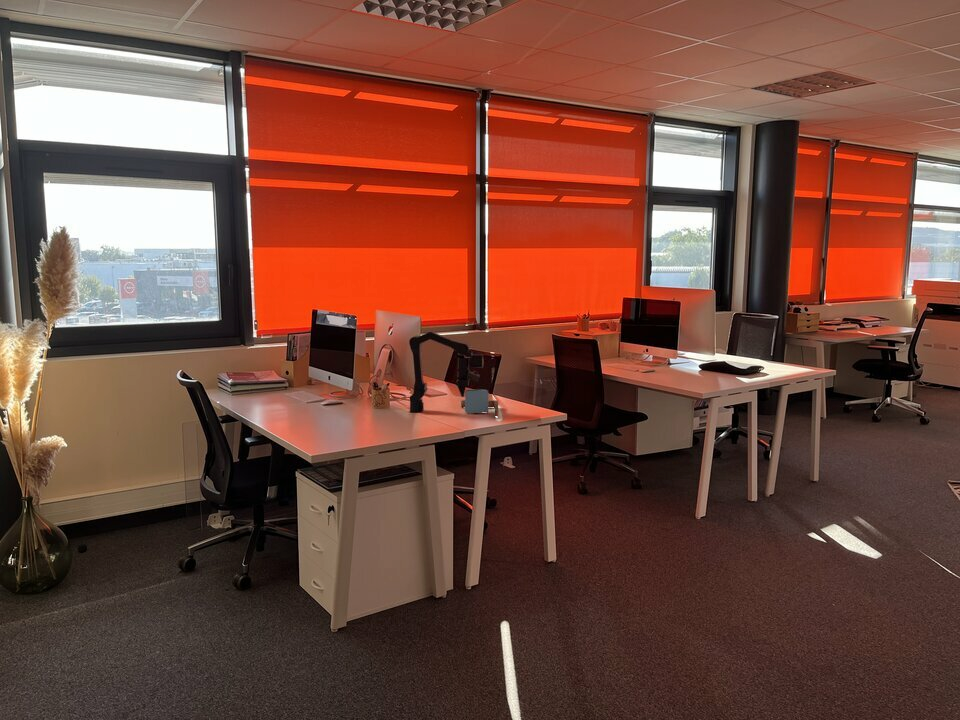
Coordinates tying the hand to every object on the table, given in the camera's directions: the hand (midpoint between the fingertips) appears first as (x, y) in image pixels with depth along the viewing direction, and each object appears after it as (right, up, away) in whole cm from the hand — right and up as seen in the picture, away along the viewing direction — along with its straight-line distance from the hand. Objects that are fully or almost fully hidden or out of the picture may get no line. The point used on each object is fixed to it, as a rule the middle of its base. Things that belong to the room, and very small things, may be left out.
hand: (462, 396), depth 364 cm
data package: (+7, -9, +1) cm, 12 cm away
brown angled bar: (+9, -9, +2) cm, 12 cm away
